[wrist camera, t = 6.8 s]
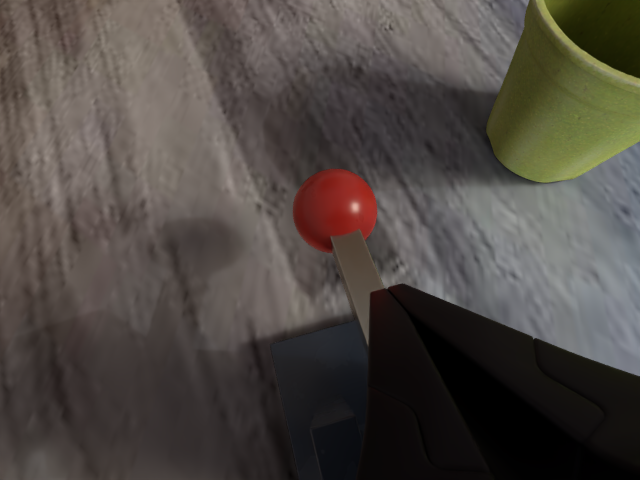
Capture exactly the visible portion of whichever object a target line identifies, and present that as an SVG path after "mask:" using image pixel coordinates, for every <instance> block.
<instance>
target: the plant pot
mask: <svg viewBox="0 0 640 480" xmlns="http://www.w3.org/2000/svg"><path fill="white" fill-rule="evenodd" d="M524 25H525V27H524V30H523V33H522V35H521V38H520V40H519V43H518V46H517V48H516V51H515V53H514V56H513V59H512V61H511V64H510V66H509V69H508V72H507V74H506V77H505V79H504V82H503V84H502V87H501V89H500V91H499V94H498V96H497V98H496V101H495V103H494V106H493V109H492V111H491V114H490V116H489V119H488V122H487V127H486V132H487V135H488V137H489V139H490V142H491V145H492V148H493V152H494V155H495V156H496V158H497V159H498V160H499V161H500V162H501V163H502V164H503V165H504V166H505V167H506V168H508V169H509V170H511V171H512V172H514V173H515V174H517V175H519V176H522V177H524V178H526V179H529V180H533V181H537V182H543V183H548V182H554V181H562V180H569V179H573V178H576V177H578V176H579V175H581V174H583V173H585V172H587V171H588V170H590V169H592V168H594V167H595V166H597V165H599V164H600V163H602V162H604V161H606V160H607V159H609V158H611V157H613V156H614V155H616V154H618V153H619V152H621V151H623V150H625V149H627V148H628V147H630V146H632V145H634V144H636V143H637V142H639V141H640V0H530V1H529V3H528V7H527V10H526V14H525V23H524Z"/></svg>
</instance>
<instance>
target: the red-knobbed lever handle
mask: <svg viewBox="0 0 640 480" xmlns="http://www.w3.org/2000/svg"><path fill="white" fill-rule="evenodd" d="M376 217H377V204H376V199H375V196H374V194H373V192H372V190H371V188H370V187H369V185H368V184H367V183H366V182H365V181H364V180H363V179H362V178H361V177H359V176H358V175H356V174H354V173H352V172H350V171H347V170H343V169H327V170H323V171H320V172H318V173H316V174H314V175H312V176H311V177H309V178H308V179H307V180H306V181H305V182H304V183H303V184H302V185H301V187H300V188H299V190H298V192H297V194H296V196H295V199H294V203H293V219H294V223H295V226H296V229H297V231H298V232H299V234H300V236H301V237H302V238H303V239H304V240H305V241H306V242H307V243H308V244H309V245H310V246H312V247H314V248H315V249H317V250H320V251H322V252H327V253H332V254H333V257H334V260H335V263H336V266H337V269H338V272H339V275H340V278H341V281H342V284H343V286H344V289H345V292H346V295H347V298H348V301H349V304H350V307H351V310H352V313H353V316H354V319H355V322H356V325H357V328H358V331H359V334H360V337H361V340H362V343H363V346H364V349H365V352H366V355H367V358H368V341H369V306H370V293H371V292H373V291H377V290H380V289H385V288H384V285H383V283H382V281H381V278H380V276H379V273H378V271H377V268H376V266H375V264H374V261H373V259H372V256H371V254H370V251H369V249H368V247H367V244H366V242H365V240H366V239H367V238H368V236H369V235H370V234H371V232H372V230H373V228H374V226H375V222H376Z"/></svg>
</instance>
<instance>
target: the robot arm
mask: <svg viewBox="0 0 640 480" xmlns="http://www.w3.org/2000/svg"><path fill="white" fill-rule="evenodd" d="M367 388H368V389H367V404H366V418H365V428H364V435H363V442H362V448H361V454H360V459H359V464H358V470H357V475H356V480H640V376H637V375H634V374H631V373H628V372H625V371H622V370H619V369H616V368H613V367H611V366H608V365H605V364H602V363H599V362H596V361H593V360H591V359H588V358H585V357H582V356H580V355H577V354H575V353H572V352H569V351H567V350H564V349H562V348H559V347H557V346H554V345H552V344H549V343H547V342H544V341H542V340H540V339H537V338H535V339H534V340H533V337H532V336H530V335H527V334H525V333H522V332H520V331H517V330H515V329H513V328H510V327H508V326H505V325H503V324H500V323H498V322H496V321H493V320H491V319H488V318H486V317H483V316H481V315H479V314H476V313H474V312H471V311H469V310H467V309H464V308H462V307H459V306H457V305H454V304H452V303H450V302H447V301H445V300H442V299H440V298H437V297H435V296H433V295H430V294H428V293H425V292H423V291H420V290H418V289H416V288H413V287H411V286H408V285H406V284H398V285H395V286H391V287H388V289H380V290H377V291H373V292H371V293H370V306H369V341H368V377H367Z"/></svg>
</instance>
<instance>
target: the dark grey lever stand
mask: <svg viewBox="0 0 640 480" xmlns="http://www.w3.org/2000/svg"><path fill="white" fill-rule="evenodd" d="M270 348H271V352H272V357H273V362H274V366H275V371H276V375H277V380H278V385H279V389H280V394H281V399H282V403H283V408H284V412H285V417H286V422H287V426H288V431H289V436H290V440H291V445H292V449H293V454H294V459H295V463H296V468H297V473H298V477H299V480H356V475H357V470H358V464H359V459H360V454H361V448H362V442H363V435H364V428H365V418H366V404H367V389H368V388H367V377H368V358H367V355H366V352H365V349H364V346H363V343H362V340H361V337H360V334H359V331H358V328H357V325H356V322H355V320H354V321H351V322H347V323H343V324H340V325H336V326H333V327H329V328H326V329H322V330H319V331H315V332H311V333H308V334H304V335H301V336H297V337H294V338H290V339H286V340H283V341H279V342H276V343H272V344H270Z"/></svg>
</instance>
